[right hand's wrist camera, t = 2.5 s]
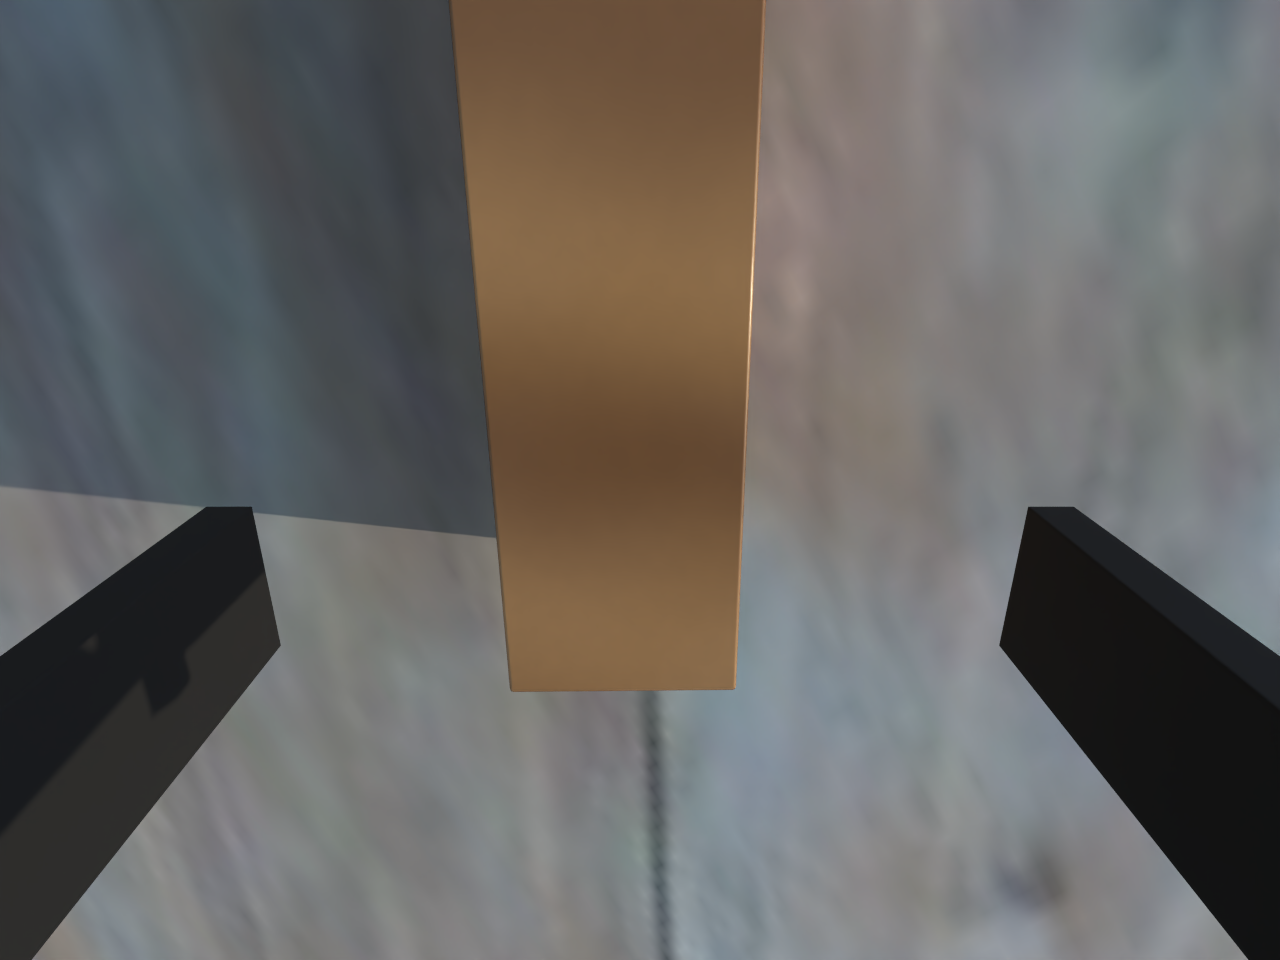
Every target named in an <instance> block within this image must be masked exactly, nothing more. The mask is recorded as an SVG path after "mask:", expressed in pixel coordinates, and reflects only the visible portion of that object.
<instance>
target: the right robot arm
mask: <svg viewBox="0 0 1280 960" xmlns="http://www.w3.org/2000/svg"><path fill="white" fill-rule="evenodd" d="M280 646H281V645H280V640H279V635H278V630H277V626H276V621H275V616H274V611H273V606H272V602H271V597H270V592H269V587H268V582H267V578H266V573H265V568H264V563H263V559H262V554H261V549H260V544H259V539H258V535H257V530H256V525H255V520H254V516H253V511H252V507H205V508H204V509H203V510H201V511H200V512H199V513H197V514H196V515H194V516H193V517H192V518H190V519H189V520H188V521H186V522H185V523H183V524H182V525H181V526H179V527H178V528H177V529H175V530H174V531H172V532H171V533H170V534H168V535H167V536H165V537H164V538H163V539H161V540H160V541H159V542H157V543H156V544H154V545H153V546H152V547H150V548H149V549H148V550H146V551H145V552H143V553H142V554H141V555H139V556H138V557H137V558H135V559H134V560H132V561H131V562H130V563H128V564H127V565H126V566H124V567H123V568H121V569H120V570H119V571H117V572H116V573H114V574H113V575H112V576H110V577H109V578H108V579H106V580H105V581H103V582H102V583H101V584H99V585H98V586H97V587H95V588H94V589H92V590H91V591H90V592H88V593H87V594H86V595H84V596H83V597H81V598H80V599H79V600H77V601H76V602H75V603H73V604H72V605H70V606H69V607H68V608H66V609H65V610H64V611H62V612H61V613H59V614H58V615H57V616H55V617H54V618H52V619H51V620H50V621H48V622H47V623H46V624H44V625H43V626H41V627H40V628H39V629H37V630H36V631H35V632H33V633H32V634H30V635H29V636H28V637H26V638H25V639H24V640H22V641H21V642H19V643H18V644H17V645H15V646H14V647H13V648H11V649H10V650H8V651H7V652H6V653H4V654H3V655H1V656H0V960H32V958H33V957H34V956H35V955H36V953H37V952H38V951H39V950H40V948H41V947H42V946H43V945H44V943H45V942H46V941H47V940H48V938H49V937H50V936H51V935H52V933H53V932H54V931H55V929H56V928H57V927H58V926H59V924H60V923H61V922H62V921H63V919H64V918H65V917H66V916H67V914H68V913H69V912H70V911H71V909H72V908H73V907H74V906H75V904H76V903H77V902H78V900H79V899H80V898H81V897H82V895H83V894H84V893H85V892H86V890H87V889H88V888H89V887H90V885H91V884H92V883H93V882H94V880H95V879H96V878H97V876H98V875H99V874H100V873H101V871H102V870H103V869H104V868H105V866H106V865H107V864H108V863H109V861H110V860H111V859H112V858H113V856H114V855H115V854H116V853H117V851H118V850H119V849H120V847H121V846H122V845H123V844H124V842H125V841H126V840H127V839H128V837H129V836H130V835H131V834H132V832H133V831H134V830H135V829H136V827H137V826H138V825H139V824H140V822H141V821H142V820H143V818H144V817H145V816H146V815H147V813H148V812H149V811H150V810H151V808H152V807H153V806H154V805H155V803H156V802H157V801H158V800H159V798H160V797H161V796H162V795H163V793H164V792H165V791H166V789H167V788H168V787H169V786H170V784H171V783H172V782H173V781H174V779H175V778H176V777H177V776H178V774H179V773H180V772H181V771H182V769H183V768H184V767H185V765H186V764H187V763H188V762H189V760H190V759H191V758H192V757H193V755H194V754H195V753H196V752H197V750H198V749H199V748H200V747H201V745H202V744H203V743H204V742H205V740H206V739H207V738H208V736H209V735H210V734H211V733H212V731H213V730H214V729H215V728H216V726H217V725H218V724H219V723H220V721H221V720H222V719H223V718H224V716H225V715H226V714H227V713H228V711H229V710H230V709H231V707H232V706H233V705H234V704H235V702H236V701H237V700H238V699H239V697H240V696H241V695H242V694H243V692H244V691H245V690H246V689H247V687H248V686H249V685H250V683H251V682H252V681H253V680H254V678H255V677H256V676H257V675H258V673H259V672H260V671H261V670H262V668H263V667H264V666H265V665H266V663H267V662H268V661H269V660H270V658H271V657H272V656H273V654H274V653H275V652H276V651H277V649H278V648H279V647H280ZM999 646H1000V647H1001V648H1002V649H1003V651H1004V652H1005V653H1006V654H1007V656H1008V657H1009V658H1010V660H1011V661H1012V662H1013V663H1014V665H1015V666H1016V667H1017V668H1018V670H1019V671H1020V672H1021V673H1022V675H1023V676H1024V677H1025V678H1026V680H1027V681H1028V682H1029V684H1030V685H1031V686H1032V687H1033V689H1034V690H1035V691H1036V692H1037V694H1038V695H1039V696H1040V697H1041V699H1042V700H1043V701H1044V702H1045V704H1046V705H1047V706H1048V707H1049V709H1050V710H1051V711H1052V713H1053V714H1054V715H1055V716H1056V718H1057V719H1058V720H1059V721H1060V723H1061V724H1062V725H1063V726H1064V728H1065V729H1066V730H1067V731H1068V733H1069V734H1070V735H1071V736H1072V738H1073V739H1074V740H1075V742H1076V743H1077V744H1078V745H1079V747H1080V748H1081V749H1082V750H1083V752H1084V753H1085V754H1086V755H1087V757H1088V758H1089V759H1090V760H1091V762H1092V763H1093V764H1094V765H1095V767H1096V768H1097V769H1098V771H1099V772H1100V773H1101V774H1102V776H1103V777H1104V778H1105V779H1106V781H1107V782H1108V783H1109V784H1110V786H1111V787H1112V788H1113V789H1114V791H1115V792H1116V793H1117V795H1118V796H1119V797H1120V798H1121V800H1122V801H1123V802H1124V803H1125V805H1126V806H1127V807H1128V808H1129V810H1130V811H1131V812H1132V813H1133V815H1134V816H1135V817H1136V818H1137V820H1138V821H1139V822H1140V824H1141V825H1142V826H1143V827H1144V829H1145V830H1146V831H1147V832H1148V834H1149V835H1150V836H1151V837H1152V839H1153V840H1154V841H1155V842H1156V844H1157V845H1158V846H1159V847H1160V849H1161V850H1162V851H1163V853H1164V854H1165V855H1166V856H1167V858H1168V859H1169V860H1170V861H1171V863H1172V864H1173V865H1174V866H1175V868H1176V869H1177V870H1178V871H1179V873H1180V874H1181V875H1182V876H1183V878H1184V879H1185V880H1186V882H1187V883H1188V884H1189V885H1190V887H1191V888H1192V889H1193V890H1194V892H1195V893H1196V894H1197V895H1198V897H1199V898H1200V899H1201V900H1202V902H1203V903H1204V904H1205V906H1206V907H1207V908H1208V909H1209V911H1210V912H1211V913H1212V914H1213V916H1214V917H1215V918H1216V919H1217V921H1218V922H1219V923H1220V924H1221V926H1222V927H1223V928H1224V929H1225V931H1226V932H1227V933H1228V935H1229V936H1230V937H1231V938H1232V940H1233V941H1234V942H1235V943H1236V945H1237V946H1238V947H1239V948H1240V950H1241V951H1242V952H1243V953H1244V955H1245V956H1246V957H1247V958H1248V960H1280V656H1279V655H1277V654H1276V653H1274V652H1273V651H1272V650H1270V649H1269V648H1267V647H1266V646H1265V645H1263V644H1262V643H1261V642H1259V641H1258V640H1256V639H1255V638H1254V637H1252V636H1251V635H1250V634H1248V633H1247V632H1245V631H1244V630H1243V629H1241V628H1240V627H1239V626H1237V625H1236V624H1234V623H1233V622H1232V621H1230V620H1229V619H1228V618H1226V617H1225V616H1223V615H1222V614H1221V613H1219V612H1218V611H1216V610H1215V609H1214V608H1212V607H1211V606H1210V605H1208V604H1207V603H1205V602H1204V601H1203V600H1201V599H1200V598H1199V597H1197V596H1196V595H1194V594H1193V593H1192V592H1190V591H1189V590H1188V589H1186V588H1185V587H1183V586H1182V585H1181V584H1179V583H1178V582H1177V581H1175V580H1174V579H1172V578H1171V577H1170V576H1168V575H1167V574H1165V573H1164V572H1163V571H1161V570H1160V569H1159V568H1157V567H1156V566H1154V565H1153V564H1152V563H1150V562H1149V561H1148V560H1146V559H1145V558H1143V557H1142V556H1141V555H1139V554H1138V553H1137V552H1135V551H1134V550H1132V549H1131V548H1130V547H1128V546H1127V545H1126V544H1124V543H1123V542H1121V541H1120V540H1119V539H1117V538H1116V537H1115V536H1113V535H1112V534H1110V533H1109V532H1108V531H1106V530H1105V529H1103V528H1102V527H1101V526H1099V525H1098V524H1097V523H1095V522H1094V521H1092V520H1091V519H1090V518H1088V517H1087V516H1086V515H1084V514H1083V513H1081V512H1080V511H1079V510H1077V509H1076V508H1075V507H1028V511H1027V516H1026V520H1025V525H1024V530H1023V535H1022V539H1021V544H1020V549H1019V554H1018V559H1017V563H1016V568H1015V573H1014V578H1013V582H1012V587H1011V592H1010V597H1009V602H1008V606H1007V611H1006V616H1005V621H1004V625H1003V630H1002V635H1001V640H1000V645H999Z"/></svg>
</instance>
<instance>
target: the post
mask: <svg viewBox="0 0 1280 960" xmlns="http://www.w3.org/2000/svg"><path fill="white" fill-rule="evenodd" d="M765 10H766V0H449V11H450V22H451V34H452V45H453V56H454V67H455V78H456V89H457V101H458V112H459V123H460V134H461V145H462V157H463V168H464V179H465V190H466V201H467V213H468V224H469V235H470V246H471V257H472V269H473V280H474V291H475V302H476V313H477V325H478V336H479V347H480V358H481V369H482V381H483V392H484V403H485V414H486V425H487V437H488V448H489V459H490V470H491V481H492V492H493V504H494V515H495V526H496V537H497V548H498V560H499V571H500V582H501V593H502V604H503V616H504V627H505V638H506V649H507V660H508V672H509V683H510V689H511V691H513V692H538V691H643V690H733V689H735V687H736V671H737V648H738V626H739V603H740V580H741V557H742V534H743V512H744V489H745V466H746V443H747V421H748V398H749V375H750V352H751V329H752V307H753V284H754V261H755V238H756V215H757V193H758V170H759V147H760V124H761V102H762V79H763V56H764V33H765Z"/></svg>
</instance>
